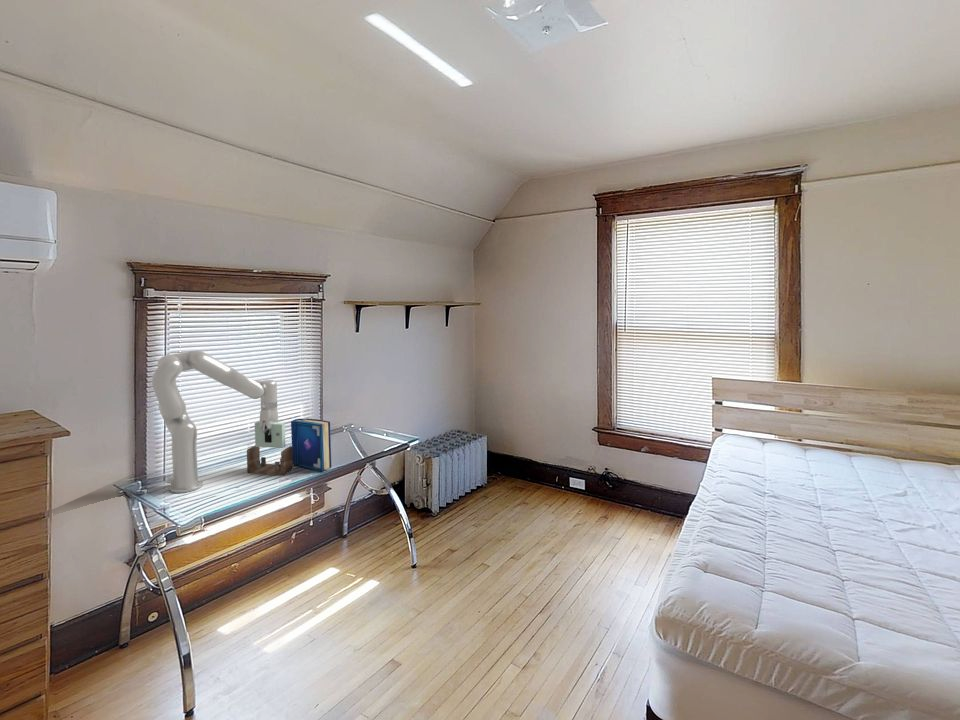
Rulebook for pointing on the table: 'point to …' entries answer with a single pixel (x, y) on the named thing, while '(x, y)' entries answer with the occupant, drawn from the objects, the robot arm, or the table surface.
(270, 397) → the robot arm
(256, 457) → the brown wooden holder
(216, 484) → the table surface
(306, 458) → the book
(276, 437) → the door
